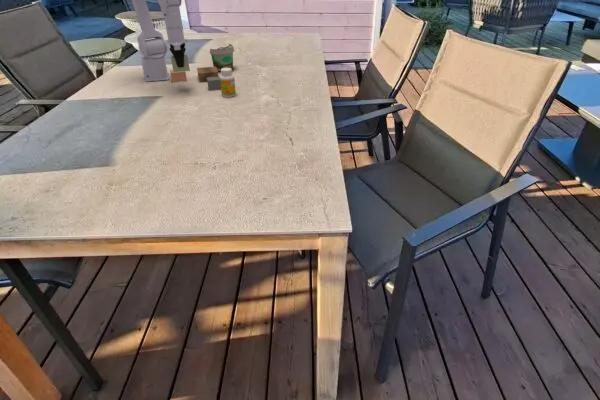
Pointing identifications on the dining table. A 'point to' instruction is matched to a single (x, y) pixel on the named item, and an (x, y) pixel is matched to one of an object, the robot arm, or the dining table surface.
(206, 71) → the walnut block
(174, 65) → the sage brick
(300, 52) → the dining table surface
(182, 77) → the terracotta brick
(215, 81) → the charcoal brick
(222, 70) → the supplement bottle
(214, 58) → the food container
